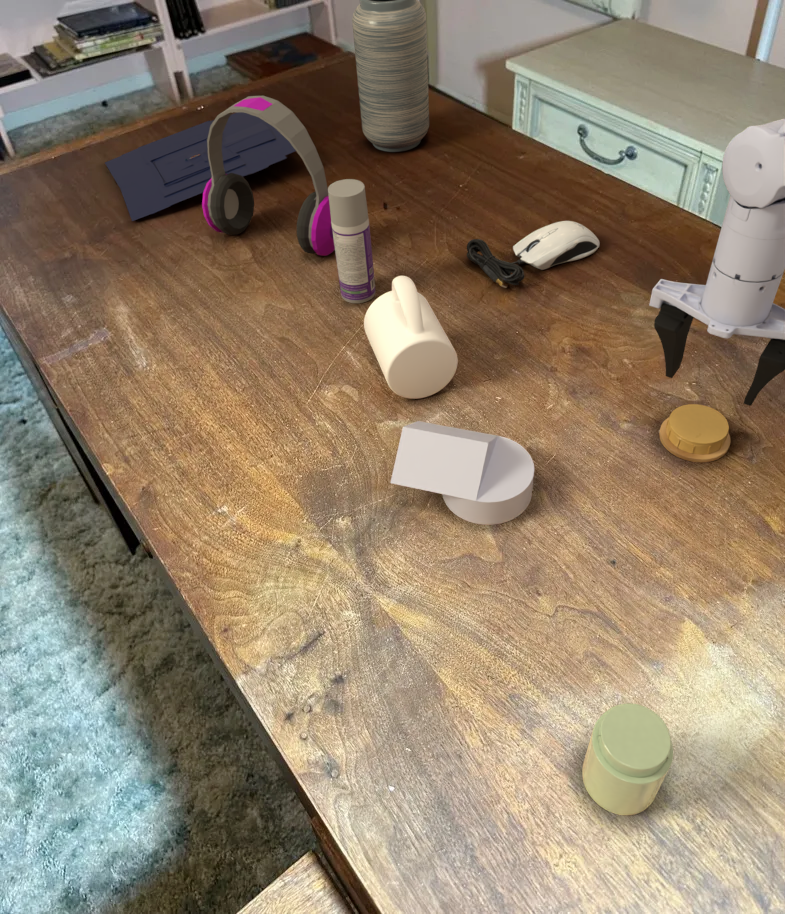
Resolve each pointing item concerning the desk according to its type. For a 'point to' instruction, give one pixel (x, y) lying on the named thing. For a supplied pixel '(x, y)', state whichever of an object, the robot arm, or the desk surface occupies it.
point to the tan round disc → (690, 456)
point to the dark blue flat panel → (193, 162)
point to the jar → (627, 759)
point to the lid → (697, 429)
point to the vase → (392, 72)
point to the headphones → (233, 197)
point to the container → (352, 240)
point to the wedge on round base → (466, 471)
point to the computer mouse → (536, 251)
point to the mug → (409, 342)
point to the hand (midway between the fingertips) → (710, 385)
